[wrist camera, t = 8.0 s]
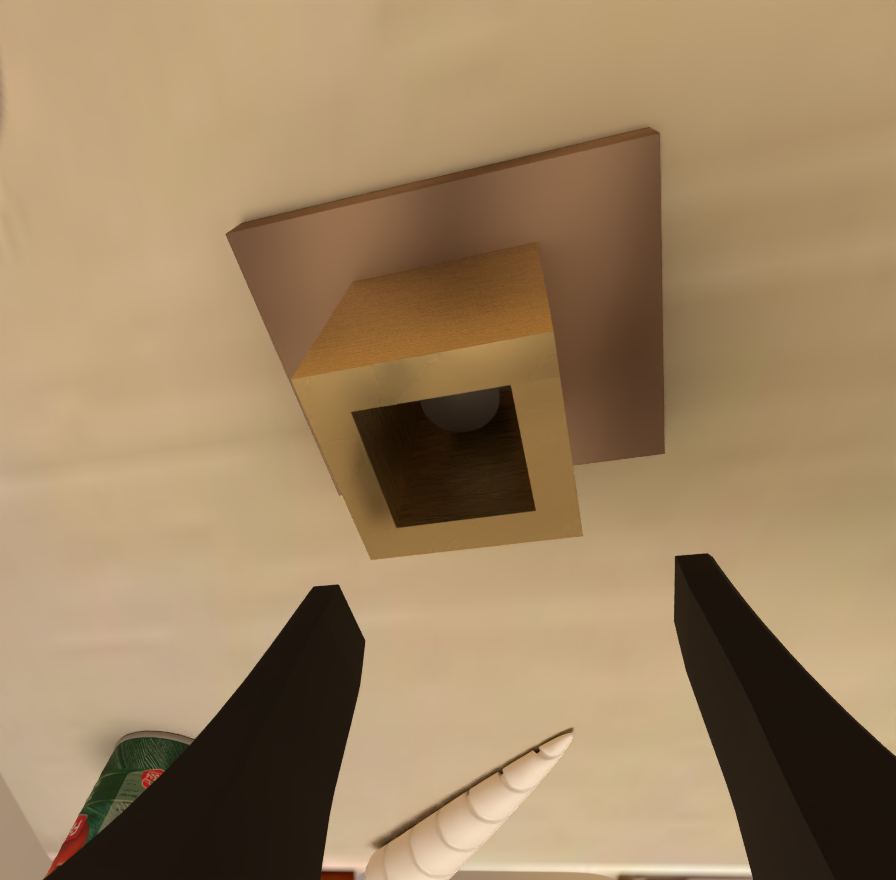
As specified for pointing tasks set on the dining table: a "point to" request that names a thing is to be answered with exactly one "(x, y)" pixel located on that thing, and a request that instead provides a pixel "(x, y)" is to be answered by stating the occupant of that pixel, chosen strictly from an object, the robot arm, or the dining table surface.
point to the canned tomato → (122, 784)
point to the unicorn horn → (464, 821)
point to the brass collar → (435, 375)
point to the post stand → (489, 229)
